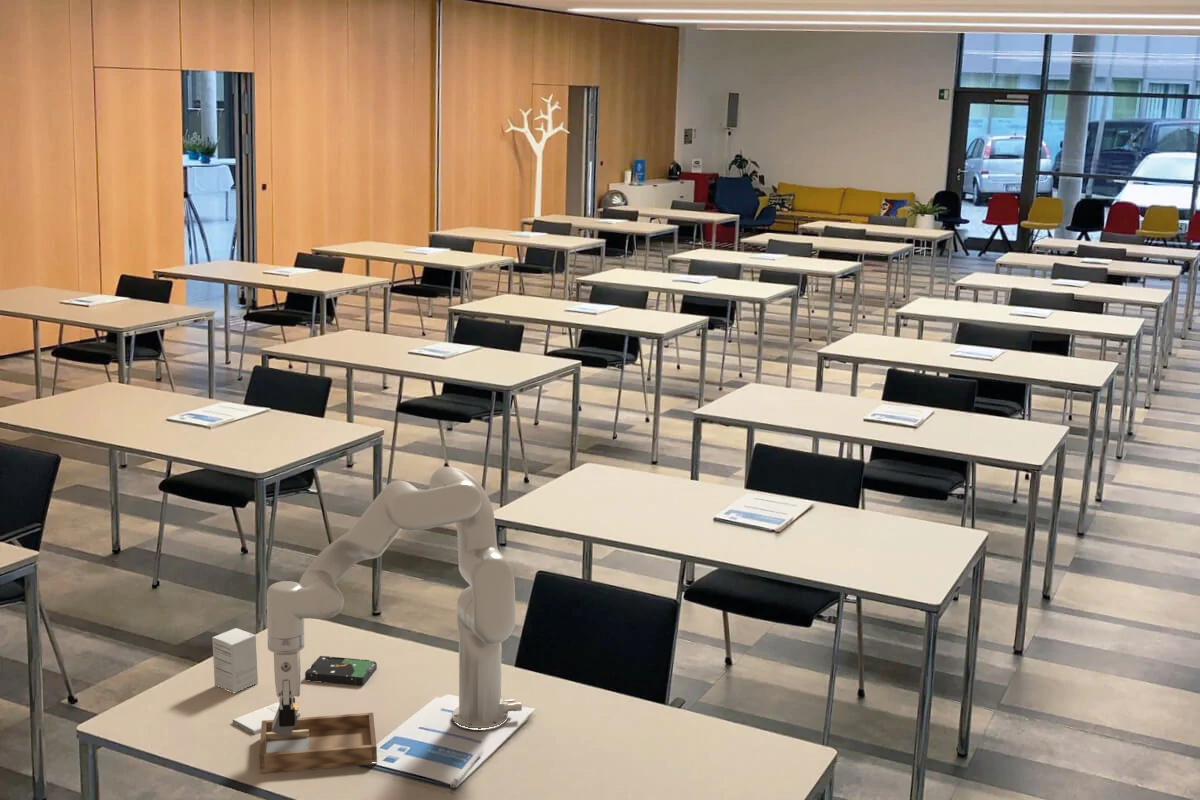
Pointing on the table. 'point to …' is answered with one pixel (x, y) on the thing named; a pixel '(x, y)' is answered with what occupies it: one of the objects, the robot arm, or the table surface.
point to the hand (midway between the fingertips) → (287, 719)
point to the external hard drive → (257, 718)
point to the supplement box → (235, 660)
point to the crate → (319, 743)
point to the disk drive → (341, 670)
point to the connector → (287, 729)
